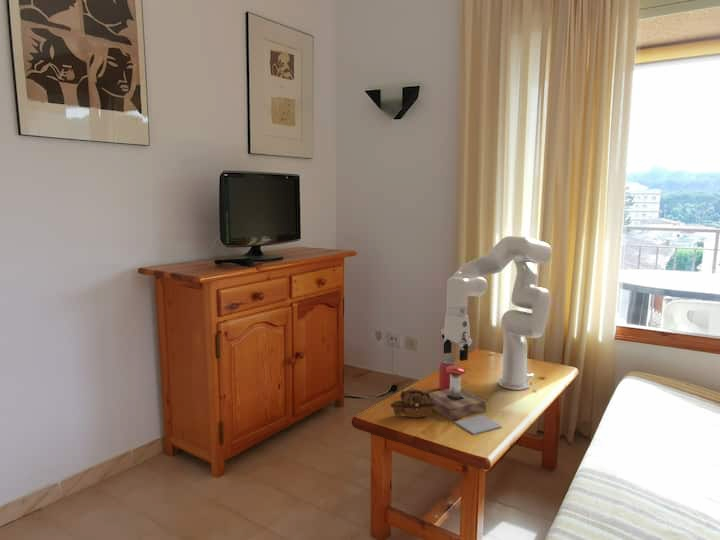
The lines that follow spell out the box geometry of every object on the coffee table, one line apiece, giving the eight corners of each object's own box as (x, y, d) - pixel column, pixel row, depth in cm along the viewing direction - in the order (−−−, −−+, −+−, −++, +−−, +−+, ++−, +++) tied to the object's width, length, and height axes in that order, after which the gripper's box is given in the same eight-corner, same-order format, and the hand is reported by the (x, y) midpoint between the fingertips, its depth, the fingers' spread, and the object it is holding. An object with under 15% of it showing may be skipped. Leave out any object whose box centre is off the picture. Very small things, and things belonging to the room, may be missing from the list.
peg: (456, 402, 197) (457, 364, 195) (467, 409, 191) (468, 369, 189) (442, 405, 194) (442, 367, 192) (452, 412, 188) (453, 372, 186)
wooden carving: (391, 420, 182) (392, 393, 180) (390, 415, 186) (390, 388, 185) (437, 418, 183) (438, 391, 182) (435, 413, 188) (435, 387, 186)
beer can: (455, 393, 206) (455, 364, 205) (438, 392, 208) (439, 363, 206) (455, 387, 213) (456, 359, 211) (439, 386, 214) (440, 358, 212)
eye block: (459, 396, 203) (459, 386, 203) (485, 411, 189) (486, 401, 188) (425, 403, 196) (425, 393, 196) (450, 419, 182) (450, 409, 181)
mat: (482, 416, 184) (482, 415, 184) (501, 427, 176) (501, 426, 176) (455, 423, 179) (455, 421, 179) (473, 434, 170) (473, 433, 170)
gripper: (480, 314, 181) (478, 361, 183) (451, 305, 197) (449, 349, 199) (463, 316, 178) (461, 364, 180) (434, 307, 193) (433, 351, 195)
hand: (455, 356), depth 189 cm, fingers open, 9 cm apart
